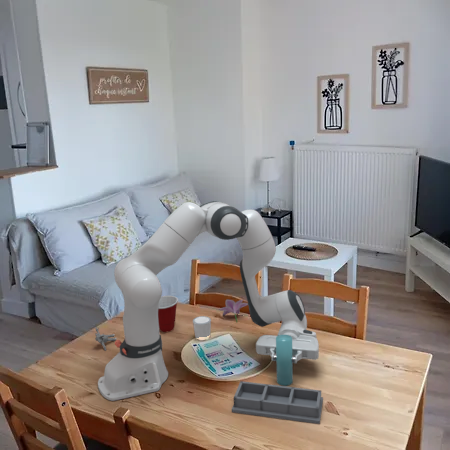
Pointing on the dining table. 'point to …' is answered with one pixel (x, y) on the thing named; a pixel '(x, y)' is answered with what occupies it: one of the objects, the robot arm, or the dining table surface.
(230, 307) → the lily
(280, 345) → the teal cylinder
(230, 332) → the dining table surface
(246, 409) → the cup rack
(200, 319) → the shot glass
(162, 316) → the plastic cup
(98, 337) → the grey humanoid figurine
